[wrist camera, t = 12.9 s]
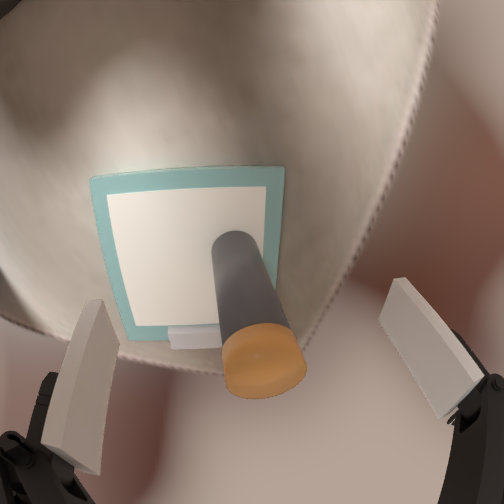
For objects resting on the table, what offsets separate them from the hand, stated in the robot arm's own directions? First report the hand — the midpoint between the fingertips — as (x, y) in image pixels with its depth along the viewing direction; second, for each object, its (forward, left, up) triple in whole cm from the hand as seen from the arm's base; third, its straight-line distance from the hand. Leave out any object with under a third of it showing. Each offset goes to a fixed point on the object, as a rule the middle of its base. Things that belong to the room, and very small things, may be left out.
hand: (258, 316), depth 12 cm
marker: (+4, 0, -12) cm, 13 cm away
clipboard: (+5, -4, -14) cm, 15 cm away
